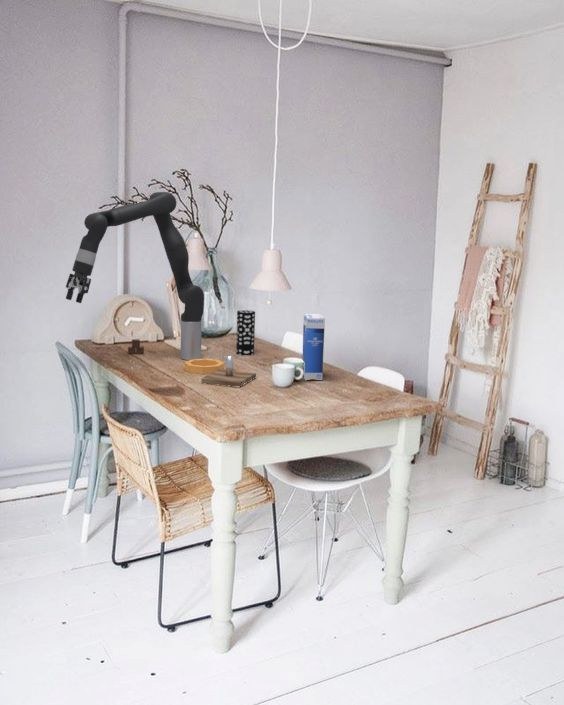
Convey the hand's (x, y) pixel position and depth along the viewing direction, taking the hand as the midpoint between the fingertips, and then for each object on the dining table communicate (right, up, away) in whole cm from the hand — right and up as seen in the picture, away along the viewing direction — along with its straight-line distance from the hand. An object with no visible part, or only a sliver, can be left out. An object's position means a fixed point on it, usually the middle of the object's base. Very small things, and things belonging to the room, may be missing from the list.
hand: (73, 301), depth 300 cm
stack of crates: (+17, -22, +44) cm, 52 cm away
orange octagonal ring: (+51, -28, +17) cm, 60 cm away
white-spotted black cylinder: (+66, -21, +52) cm, 87 cm away
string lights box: (+96, -31, +10) cm, 101 cm away
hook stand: (+63, -32, 0) cm, 70 cm away
